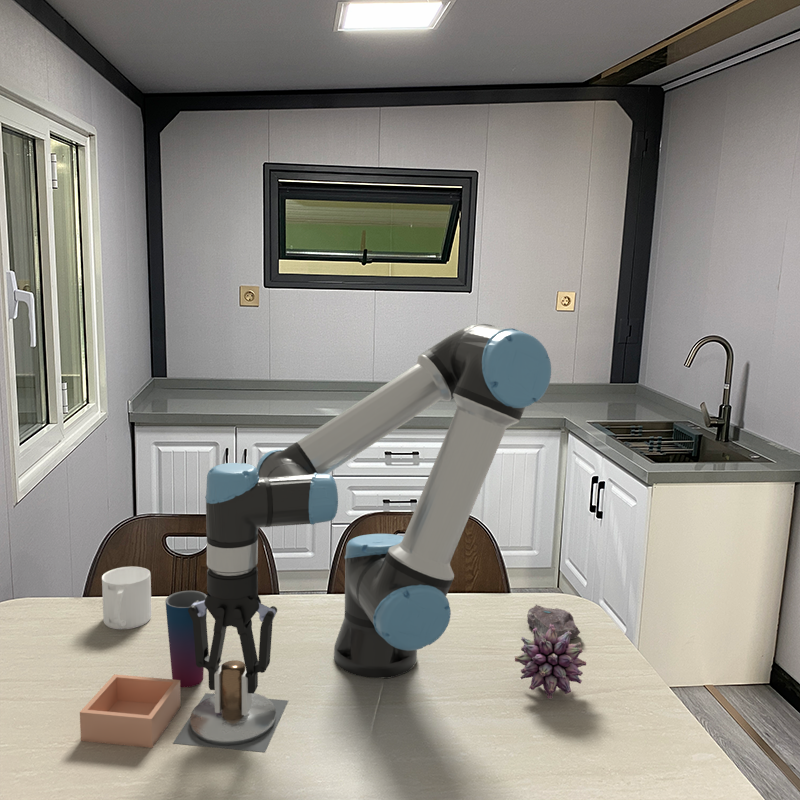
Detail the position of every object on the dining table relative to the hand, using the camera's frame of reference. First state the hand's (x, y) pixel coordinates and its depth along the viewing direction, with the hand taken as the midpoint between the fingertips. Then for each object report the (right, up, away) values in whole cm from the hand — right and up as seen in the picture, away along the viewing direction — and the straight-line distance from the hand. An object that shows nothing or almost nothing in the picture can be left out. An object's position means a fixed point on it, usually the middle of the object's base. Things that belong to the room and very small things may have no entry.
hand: (233, 708), depth 124 cm
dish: (-15, -2, -1) cm, 15 cm away
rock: (+56, +1, +35) cm, 66 cm away
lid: (0, -2, 0) cm, 2 cm away
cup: (-10, 0, +12) cm, 16 cm away
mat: (0, -2, 0) cm, 2 cm away
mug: (-28, +4, +33) cm, 44 cm away
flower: (+51, -2, +12) cm, 53 cm away
